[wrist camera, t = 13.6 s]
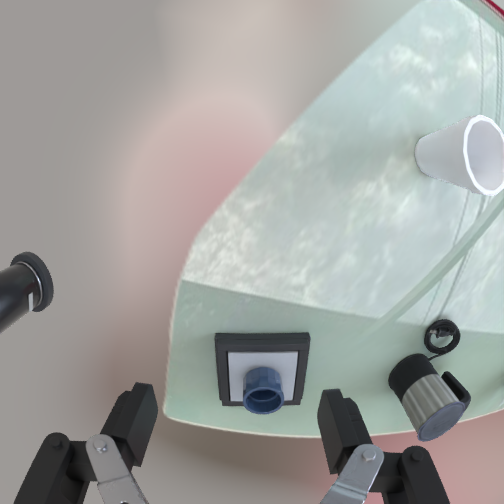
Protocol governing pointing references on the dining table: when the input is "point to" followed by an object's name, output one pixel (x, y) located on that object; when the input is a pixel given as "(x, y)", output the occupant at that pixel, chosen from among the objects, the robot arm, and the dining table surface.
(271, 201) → the dining table surface
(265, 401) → the blue cup
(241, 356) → the pan
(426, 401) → the milk frother
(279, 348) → the scale
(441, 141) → the foam cup
